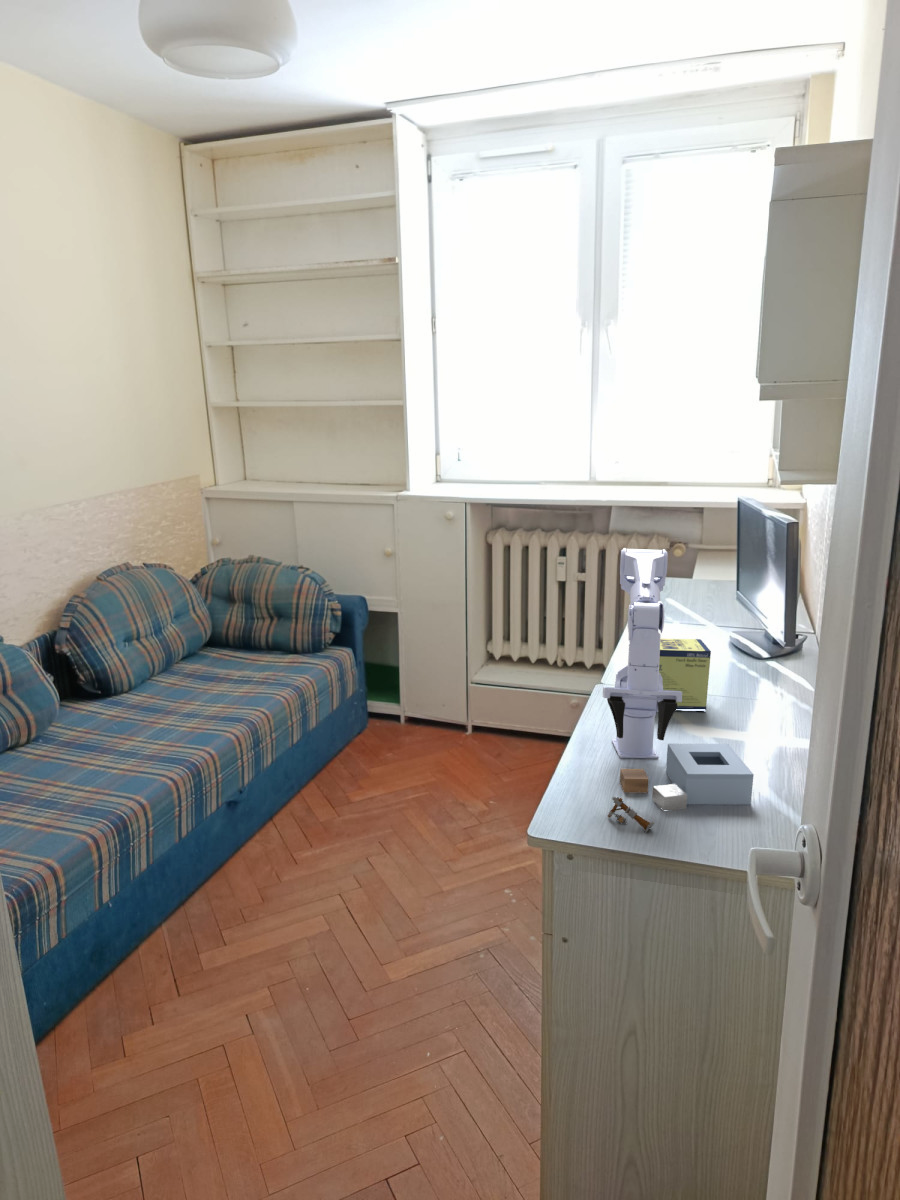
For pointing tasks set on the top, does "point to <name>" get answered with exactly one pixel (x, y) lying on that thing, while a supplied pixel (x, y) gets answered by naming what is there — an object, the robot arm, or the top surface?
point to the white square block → (669, 797)
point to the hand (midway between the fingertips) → (640, 738)
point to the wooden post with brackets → (630, 812)
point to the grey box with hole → (709, 774)
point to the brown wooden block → (634, 780)
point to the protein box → (685, 670)
